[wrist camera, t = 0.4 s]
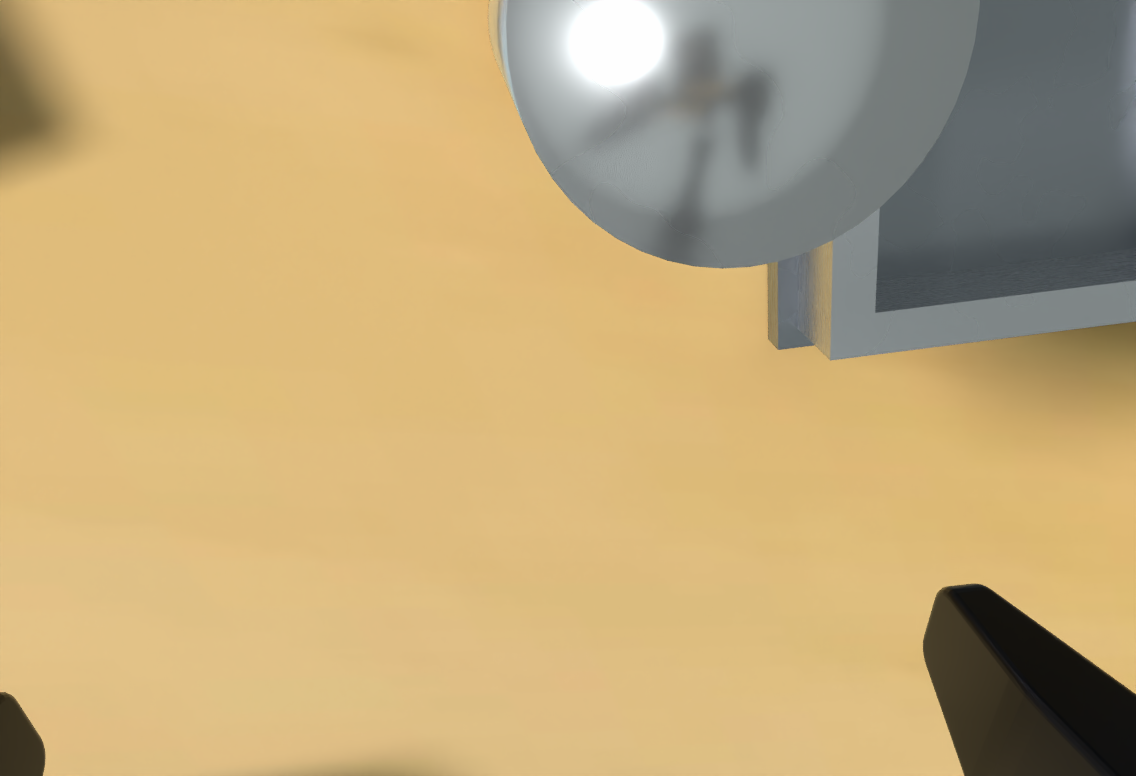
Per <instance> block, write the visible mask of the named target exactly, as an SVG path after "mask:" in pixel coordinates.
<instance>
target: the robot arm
mask: <svg viewBox="0 0 1136 776" xmlns="http://www.w3.org/2000/svg"><path fill="white" fill-rule="evenodd" d="M923 653H924V658H925V663H926V666H927V669H928V672H929V675H930V677H931V680H932V683H933V686H934V689H935V692H936V695H937V698H938V701H939V703H940V706H941V709H942V712H943V715H944V718H945V721H946V724H947V727H948V729H949V732H950V735H951V738H952V741H953V744H954V747H955V750H956V753H957V755H958V758H959V761H960V764H961V767H962V770H963V773H964V776H1136V694H1135V693H1133V692H1132V691H1131V690H1129V689H1128V688H1126V687H1125V686H1124V685H1122V684H1121V683H1120V682H1118V681H1117V680H1115V679H1114V678H1113V677H1111V676H1110V675H1109V674H1107V673H1106V672H1104V671H1103V670H1102V669H1100V668H1099V667H1097V666H1096V665H1095V664H1093V663H1092V662H1091V661H1089V660H1088V659H1086V658H1085V657H1084V656H1082V655H1081V654H1080V653H1078V652H1077V651H1075V650H1074V649H1073V648H1071V647H1070V646H1068V645H1067V644H1066V643H1064V642H1063V641H1062V640H1060V639H1059V638H1057V637H1056V636H1055V635H1053V634H1052V633H1051V632H1049V631H1048V630H1046V629H1045V628H1044V627H1042V626H1041V625H1039V624H1038V623H1037V622H1035V621H1034V620H1033V619H1031V618H1030V617H1028V616H1027V615H1026V614H1024V613H1023V612H1022V611H1020V610H1019V609H1017V608H1016V607H1015V606H1013V605H1012V604H1010V603H1009V602H1008V601H1006V600H1005V599H1004V598H1002V597H1001V596H999V595H998V594H997V593H995V592H994V591H993V590H991V589H989V588H988V587H986V586H983V585H981V584H966V585H957V586H948V587H944V588H942V589H941V590H940V591H939V592H938V593H937V595H936V598H935V601H934V604H933V608H932V611H931V615H930V618H929V621H928V625H927V628H926V632H925V635H924V640H923ZM44 767H45V749H44V745H43V741H42V739H41V737H40V736H39V734H38V733H37V731H36V730H35V728H34V727H33V725H32V724H31V722H30V720H29V719H28V717H27V716H26V714H25V713H24V711H23V710H22V708H21V707H20V705H19V703H18V702H17V700H16V699H15V698H14V697H13V696H12V695H10V694H8V693H6V692H0V776H43V772H44Z"/></svg>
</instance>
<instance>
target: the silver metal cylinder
mask: <svg viewBox="0 0 1136 776" xmlns="http://www.w3.org/2000/svg"><path fill="white" fill-rule="evenodd" d="M979 6H980V0H489V6H488V31H489V37H490V43H491V47H492V50H493V54H494V57H495V60H496V62H497V65H498V67H499V69H500V71H501V74H502V76H503V78H504V81H505V83H506V85H507V88H508V90H509V92H510V95H511V97H512V99H513V101H514V104H515V106H516V108H517V111H518V113H519V115H520V118H521V120H522V122H523V125H524V127H525V129H526V131H527V133H528V135H529V138H530V140H531V142H532V144H533V146H534V149H535V151H536V153H537V155H538V156H539V158H540V159H541V161H542V163H543V164H544V166H545V167H546V169H547V171H548V172H549V174H550V175H551V177H552V179H553V180H554V181H555V182H556V184H557V185H558V186H559V187H560V188H561V190H562V191H563V192H564V193H565V195H566V196H567V197H568V198H569V199H570V201H571V202H572V203H573V204H574V205H575V206H577V207H578V208H579V209H580V210H581V211H582V212H583V213H584V214H585V215H586V216H587V217H588V218H589V219H591V220H592V221H593V222H594V223H595V224H597V225H598V226H600V227H601V228H602V229H604V230H605V231H607V232H608V233H610V234H611V235H612V236H614V237H615V238H617V239H619V240H621V241H623V242H625V243H626V244H628V245H630V246H632V247H634V248H636V249H638V250H640V251H642V252H645V253H648V254H651V255H653V256H656V257H659V258H662V259H665V260H667V261H672V262H677V263H682V264H686V265H691V266H698V267H712V268H737V267H752V266H757V265H762V264H768V263H773V262H778V261H781V260H785V259H788V258H791V257H794V256H797V255H800V254H803V253H806V252H808V251H811V250H813V249H815V248H817V247H819V246H821V245H824V244H826V243H828V242H830V241H832V240H834V239H836V238H837V237H839V236H840V235H842V234H844V233H845V232H847V231H849V230H850V229H852V228H854V227H855V226H857V225H858V224H860V223H861V222H862V221H863V220H865V219H866V218H867V217H869V216H870V215H871V214H872V213H874V212H875V211H876V210H878V209H879V208H880V207H881V206H882V205H883V204H884V203H885V202H886V201H887V200H888V199H889V198H890V197H892V196H893V195H894V194H895V193H896V192H897V191H898V190H899V189H900V188H901V187H902V186H903V185H904V183H905V182H906V181H907V180H908V179H909V177H910V176H911V175H912V174H913V172H914V171H915V170H916V169H917V168H918V166H919V165H920V164H921V163H922V161H923V160H924V159H925V157H926V155H927V154H928V152H929V151H930V149H931V148H932V146H933V145H934V143H935V142H936V140H937V139H938V137H939V136H940V134H941V132H942V130H943V128H944V126H945V124H946V122H947V120H948V118H949V116H950V114H951V112H952V110H953V108H954V106H955V104H956V101H957V99H958V96H959V93H960V91H961V88H962V85H963V83H964V80H965V77H966V75H967V71H968V67H969V63H970V59H971V55H972V51H973V47H974V44H975V37H976V30H977V23H978V16H979Z"/></svg>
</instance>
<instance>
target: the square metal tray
mask: <svg viewBox="0 0 1136 776" xmlns="http://www.w3.org/2000/svg"><path fill="white" fill-rule="evenodd" d="M1135 321H1136V0H980V6H979V16H978V23H977V30H976V37H975V44H974V47H973V51H972V55H971V59H970V63H969V67H968V71H967V75H966V77H965V80H964V83H963V85H962V88H961V91H960V93H959V96H958V99H957V101H956V104H955V106H954V108H953V110H952V112H951V114H950V116H949V118H948V120H947V122H946V124H945V126H944V128H943V130H942V132H941V134H940V136H939V137H938V139H937V140H936V142H935V143H934V145H933V146H932V148H931V149H930V151H929V152H928V154H927V155H926V157H925V159H924V160H923V161H922V163H921V164H920V165H919V166H918V168H917V169H916V170H915V171H914V172H913V174H912V175H911V176H910V177H909V179H908V180H907V181H906V182H905V183H904V185H903V186H902V187H901V188H900V189H899V190H898V191H897V192H896V193H895V194H894V195H893V196H892V197H890V198H889V199H888V200H887V201H886V202H885V203H884V204H883V205H882V206H881V207H880V208H879V209H878V210H876V211H875V212H874V213H872V214H871V215H870V216H869V217H867V218H866V219H865V220H863V221H862V222H861V223H860V224H858V225H857V226H855V227H854V228H852V229H850V230H849V231H847V232H845V233H844V234H842V235H840V236H839V237H837V238H836V239H834V240H832V241H830V242H828V243H826V244H824V245H821V246H819V247H817V248H815V249H813V250H811V251H808V252H806V253H803V254H800V255H797V256H794V257H791V258H788V259H785V260H781V261H778V262H773V263H768V339H769V340H770V341H771V343H772V344H773V345H774V346H775V347H776V348H777V349H778V350H781V349H789V348H796V347H804V346H812V345H815V346H816V347H817V348H818V349H819V350H820V351H821V352H822V353H823V354H824V355H825V356H826V357H827V358H828V359H829V360H837V359H845V358H853V357H861V356H868V355H876V354H884V353H892V352H900V351H908V350H916V349H923V348H931V347H939V346H947V345H955V344H963V343H971V342H978V341H986V340H994V339H1002V338H1010V337H1018V336H1025V335H1033V334H1041V333H1049V332H1057V331H1065V330H1073V329H1080V328H1088V327H1096V326H1104V325H1112V324H1120V323H1128V322H1135Z"/></svg>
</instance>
